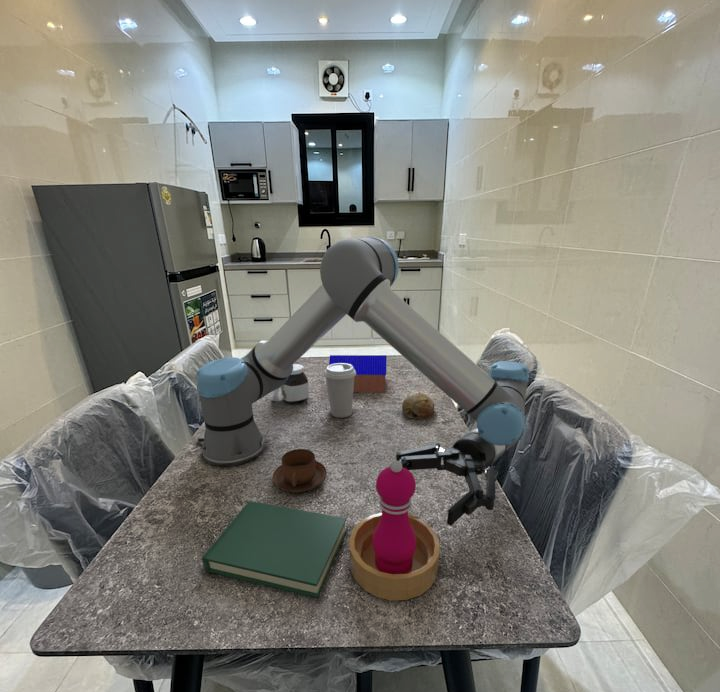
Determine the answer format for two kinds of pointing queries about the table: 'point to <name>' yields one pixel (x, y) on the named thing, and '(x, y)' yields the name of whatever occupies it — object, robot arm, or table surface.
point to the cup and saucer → (299, 471)
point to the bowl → (394, 584)
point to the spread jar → (294, 387)
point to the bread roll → (418, 406)
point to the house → (365, 371)
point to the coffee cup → (340, 388)
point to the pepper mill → (394, 521)
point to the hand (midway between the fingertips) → (413, 498)
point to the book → (278, 548)
